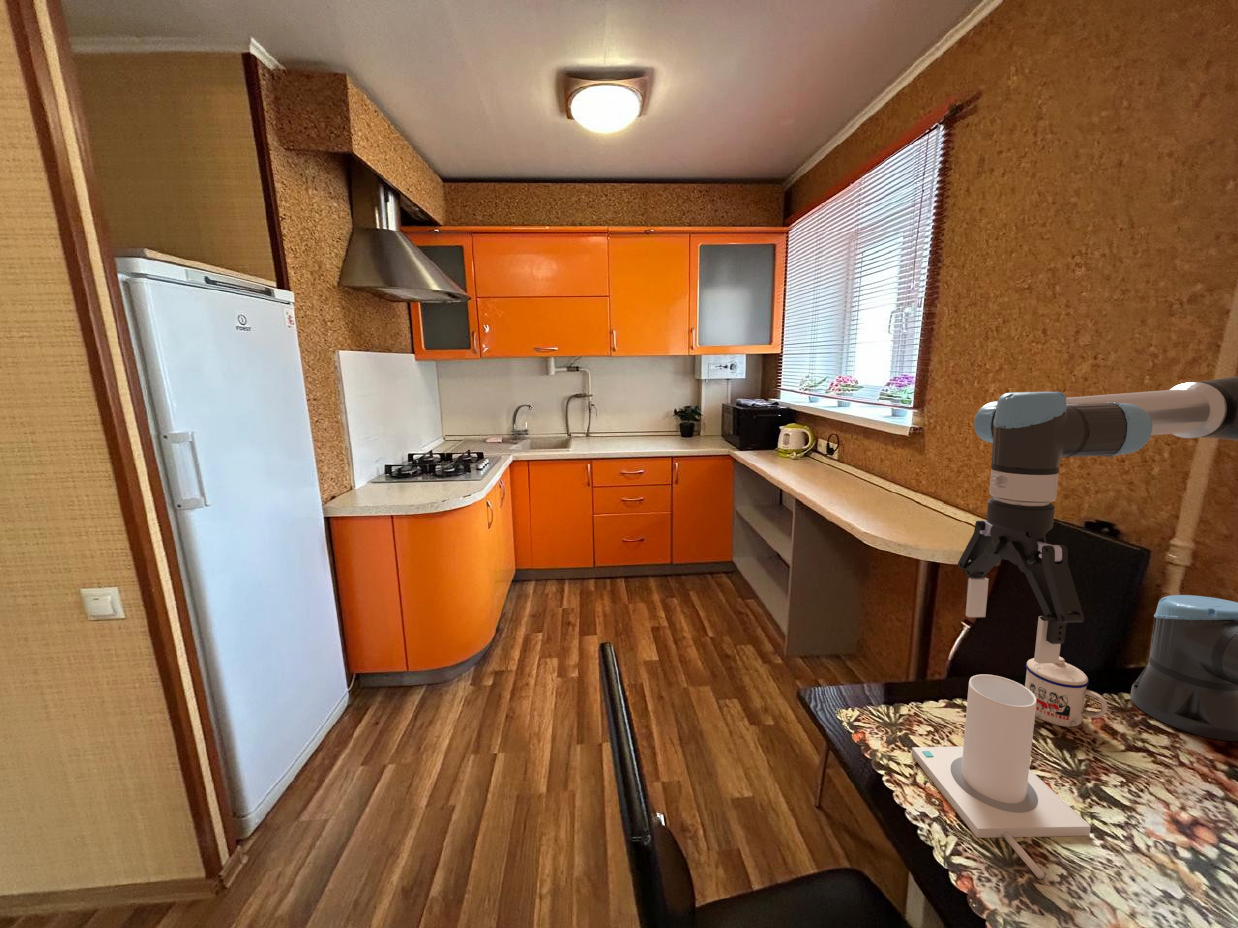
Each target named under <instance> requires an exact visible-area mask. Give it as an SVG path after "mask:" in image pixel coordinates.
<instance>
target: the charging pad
mask: <svg viewBox="0 0 1238 928" xmlns="http://www.w3.org/2000/svg"><path fill="white" fill-rule="evenodd" d="M911 756H912V757H913V759H914V761H916V763H918V764H917V765H919V766H920V768H921V769H922V770H923V772H924V773H925V774H926V775H927V776H928V778H929V780H931V782H932V783H933V785H934V786H935V787H936V788H937V789H938V791H939V792H940V793H941V794H942V796H943V797H944V799H946V800H947V802H948V803H949V805H950V806H951V807H952V808H953V810H954V811H955V812H956V813H957V814H958V816H959V817H960V819H961V820H962V821H963V822H964V824H966V826H967V827H968V828H969V830H970V831H971V833H973V835H974V836H975V838H977V839H978V838H979V839H984V838H985V839H987V838H1004V840H1005V841H1006V842H1007V843H1008V845H1010V847H1011V848H1012V849H1013V850H1014V852H1015V853H1016V854H1017V856H1019V857H1020V859H1021V860H1022V861H1023V862H1024V863H1025V865H1026V866H1027V867H1028V868H1029V870H1030V871H1031V872H1032V873H1033V874H1034V875H1035V877H1037V879H1039V880H1042V879H1044V878H1045V876H1046V874H1045V873H1044V872H1043V870H1042V869H1041V868H1040V867H1039V866H1038V865H1037V863H1036V862H1035V861H1034V860H1033V859H1032V858H1031V856H1029V855H1028V853H1027V852H1026V851H1025V850H1024V848H1023V847H1021V845H1020V844H1019V843H1018V841H1017V840H1016V839H1015V838H1030V837H1031V838H1032V837H1036V838H1037V837H1044V838H1045V837H1086V836H1090V834H1091V825H1090V824H1089V823H1088V822H1087V821H1085V819H1084V818H1082V817H1081V816H1080V815H1079V814H1078V813H1077V812H1076V811H1075V810H1074V809H1073V808H1072V807H1071V806H1069V805H1068V803H1067V802H1065V801H1064V800H1063V798H1061V797H1060V796H1059V795H1058V794H1057V793H1056V792H1055V791H1054V790H1052V789H1051V788H1050V786H1048V785H1047V784H1046V783H1045V782H1044V781H1042V779H1041V778H1040V777H1039V776H1037V774H1035V773H1034V772H1033V771H1032V770H1031V769H1030V768H1029V774H1028V783H1027V792H1026V798H1025V799H1024V800H1023V801H1022V802H1019V803H1004V802H999V801H996V800H993V799H991V798H988V797H986V796H984V795H982V794H981V793H979V792H977V791H976V790H975V789H973V788H972V787H971V786H970V785H969V784H968V783H967V782H966V781H965V780H964V778H963V776H962V773H961V767H962V756H963V746H962V745H961V746H922V747H921V746H918V747H917V746H916V747H913V746H912V747H911Z"/></svg>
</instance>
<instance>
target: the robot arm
mask: <svg viewBox="0 0 1238 928" xmlns="http://www.w3.org/2000/svg"><path fill="white" fill-rule="evenodd" d="M973 420H974V423H973V426H974V431H975V434H976V436H977V437H978V438H979V439H981V440H982V441H984V442H986V443H990V444H992V452H991V464H990V465H991V466H990V467H991V469H990V479H989V489H988V494H989V495H990V496H992V497H991V498H989V499H988V500H987V510H986V519H985V520H984V519H983V520H976V521H975V525H974V530H973V533H972V535H971V537H970V539H969V541H968V543H967V545H966V547H965V549H964V550H963V553H962V555H961V557H959V560H958V562H957V566H958V568H959V569H962V570H963V571H964V574H965V576H966V577H967V578H966V587H965V588H966V607H965V616H966V617H967V618H986V612H987V603H988V602H987V601H988V591H989V580H990V579H989V578H987V577H989V574H988V573H989V572H990V571H991V570H992V569H993V568H994V567H995V566H997V565H998V564H999V563H1000V562H1001V561H1002V560H1004V561H1005V560H1007V561H1009V562H1010V563H1011V564H1013V565H1015V566H1017V568H1018V569H1019V571H1020V572H1022V573H1023V574H1025V577H1026V579H1027V581H1028V583H1029V585H1030V588H1031V590H1032V592H1033V593H1034V596H1035V599H1036V600H1037V603H1038V604H1039V606H1040V609H1041V610H1042V613H1043V615H1040V616H1038V620H1037V629H1036V640H1035V650H1034V657H1033V658H1034V661H1035V662H1037V663H1038V664H1041V663H1059V656H1060V653H1061V645H1062V644H1063V645H1064V643H1065V639H1066V638H1065V637H1066V631H1067V624H1068V623H1083V622H1084V621H1085V617H1084V613H1083V610H1082V605H1081V602H1080V600H1079V596H1078V592H1077V589H1076V586H1075V583H1074V580H1073V576H1072V573H1071V570H1070V566H1069V563H1068V562H1069V561H1068V559H1069V558H1068V557H1069V555H1068V552H1069V551H1068V550H1069V549H1068V547H1067V546H1066V545H1064V544H1054V545H1053V544H1050V543H1047V540H1046V534H1047V533H1048V532H1050V530H1052V529H1053V528H1054V527H1053V526H1054V519H1055V512H1056V511H1055V509H1056V506H1055V505H1054V504H1053V503H1052V502H1054V501H1056V500H1057V497H1058V496H1057V495H1058V485H1059V484H1058V483H1059V482H1058V481H1059V473H1060V466H1061V465H1060V464H1061V458H1062V459H1064V458H1078V457H1079V458H1080V457H1084V458H1085V457H1106V458H1112V457H1114V456H1116V457H1117V456H1122V455H1129V454H1133V453H1135V452H1138V451H1139V450H1141V449H1142V448H1144V447H1145V446H1146V445H1147V443H1148V442H1149V440H1150V439H1151V437H1152V436H1161V435H1173V436H1176V437H1178V438H1182V439H1199V438H1209V439H1220V440H1228V441H1237V442H1238V375H1237V376H1232V377H1231V376H1230V377H1225V378H1224V377H1223V378H1216V379H1209V380H1202V381H1201V380H1200V381H1192V382H1191V381H1190V382H1185V383H1180V384H1177V385H1175V386H1173V387H1170V388H1169V389H1164V390H1162V389H1161V390H1152V391H1151V390H1150V391H1138V392H1125V393H1124V392H1123V393H1110V394H1098V395H1084V396H1072V397H1067V395H1066V394H1065V393H1064V392H1060V391H1017V392H1016V391H1015V392H1014V391H1012V392H1006V393H1003V394H1002V395H1000V396H999V397H998V400H995V401H991V402H988V403H986V404H984V405H982V407H981V408H979V410H978V411H977V413H976V414H975V417H974V419H973ZM1035 562H1036V563H1035ZM1153 617H1154V619H1153V627H1152V635H1151V642H1150V651H1149V656H1148V657H1149V658H1148V662H1147V663H1148V664H1147V665H1146V667H1144V669H1143V671H1142V672H1141V673H1139V676H1138V677H1137V679H1136V680H1135V681H1134V683H1132V685H1131V690H1130V700H1131V702H1132V703H1133V704H1134V705H1135V706H1136V707H1137V708H1138V709H1140V710H1141V711H1142V712H1143V713H1145V714H1147V715H1148V716H1150V717H1152V718H1153V719H1156V721H1159V722H1161V723H1164V724H1165V725H1168V726H1170V727H1173V728H1174V729H1178V730H1181V731H1184V732H1187V733H1189V734H1193V735H1195V736H1199V737H1204V738H1209V739H1213V740H1220V741H1224V742H1225V741H1228V742H1238V602H1237V601H1234V600H1233V601H1232V600H1227V599H1223V598H1218V597H1211V596H1202V595H1189V594H1172V595H1167V596H1164V597H1162V598H1160V599H1159V600H1158V603H1157V607H1156V611H1155V613H1154V615H1153Z"/></svg>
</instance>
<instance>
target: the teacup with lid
mask: <svg viewBox="0 0 1238 928" xmlns="http://www.w3.org/2000/svg"><path fill="white" fill-rule="evenodd" d="M1025 668H1026V674H1025V681H1024V682H1025V683H1024V687H1026V688H1028V689H1029V690H1030V691H1031V692H1032V693H1033V694H1034V695H1035V697H1036V712H1035V718H1038V719H1040V720H1042V721H1044V722H1047V723H1048V724H1049V723H1050V724H1052V725H1055V726H1056V725H1057V726H1061V727H1065V728H1067V727H1068V728H1071V727H1077V726H1079V725H1081V724H1082V722H1083V716H1085V717H1088V718H1090V719H1092V718H1093V719H1097V718H1100V717H1101V718H1102V717H1103V716H1104V715H1105V714H1106V713H1107V711H1108V706H1109V705H1108V702H1107V700H1106V699H1105V698H1104V697H1103V696H1101V694H1099V693H1098V692H1095V691H1093V690H1090V689H1087V686H1088V685H1089V683H1090V681H1089V678H1088V676H1087V675H1086V674H1085V673H1084V671H1082V670H1081V669H1079V668H1078V667H1076V666H1074V665H1072V664H1070V663H1067V662H1066V660H1065V658H1063V657H1061V656H1060V655H1059V663H1041V664H1038V663H1037V662H1035V661H1034V657H1033V658H1030V659H1028V660H1027V662H1026V663H1025ZM1086 695H1087V696H1090V697H1092V698H1094V699H1096V700H1097V701H1098V703H1100V705H1101V708H1100V710H1099V711H1097V712H1092V711H1088V710H1086V709H1085V701H1086ZM1084 709H1085V710H1084Z"/></svg>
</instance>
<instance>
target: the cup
mask: <svg viewBox="0 0 1238 928" xmlns="http://www.w3.org/2000/svg"><path fill="white" fill-rule="evenodd" d="M967 689H968V690H967V691H968V692H967V700H966V713H965V723H964V735H963V756H962V767H961V773H962V776H963V778H964V780H965V781H966V782H967V783H968V784H969V785H970V786H971V787H972V788H973V789H975V790H976V791H977V792H979V793H981V794H982V795H984V796H986V797H988V798H991V799H993V800H996V801H999V802H1004V803H1019V802H1022V801H1023V800H1024V799H1025V798H1026V792H1027V783H1028V774H1029V769H1030V762H1031V756H1032V755H1031V753H1032V747H1033V746H1032V745H1033V739H1034V738H1033V737H1034V731H1035V730H1034V728H1035V720H1036V716H1035V712H1036V697H1035V695H1034V694H1033V693H1032V692H1031V691H1030V690H1029V689H1028V688H1026V687H1025V685H1023V684H1021V683H1020V682H1017V681H1015V680H1012V679H1009V678H1006V677H1003V676H999V675H993V674H982V673H981V674H976V675H973V676H971V677H970V678H969V681H968V688H967Z"/></svg>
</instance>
